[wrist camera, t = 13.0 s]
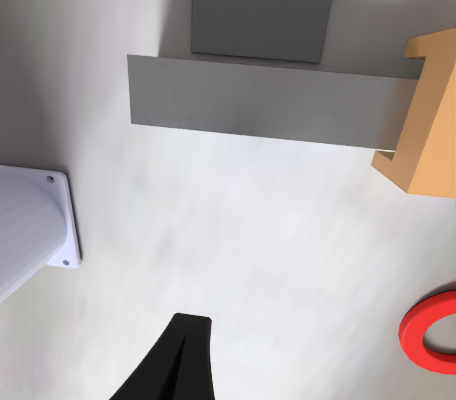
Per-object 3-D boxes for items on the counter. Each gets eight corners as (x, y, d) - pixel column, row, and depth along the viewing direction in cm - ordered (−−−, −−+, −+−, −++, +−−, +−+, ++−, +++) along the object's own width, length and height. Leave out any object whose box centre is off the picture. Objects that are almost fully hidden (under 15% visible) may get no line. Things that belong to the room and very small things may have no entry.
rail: (158, 137, 18) (114, 165, 12) (156, 28, 15) (100, 3, 10) (465, 169, 17) (564, 215, 11) (515, 57, 14) (673, 46, 9)
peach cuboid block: (371, 165, 15) (406, 193, 12) (409, 38, 13) (469, 24, 9) (447, 172, 15) (507, 204, 11) (500, 45, 13) (600, 34, 9)
